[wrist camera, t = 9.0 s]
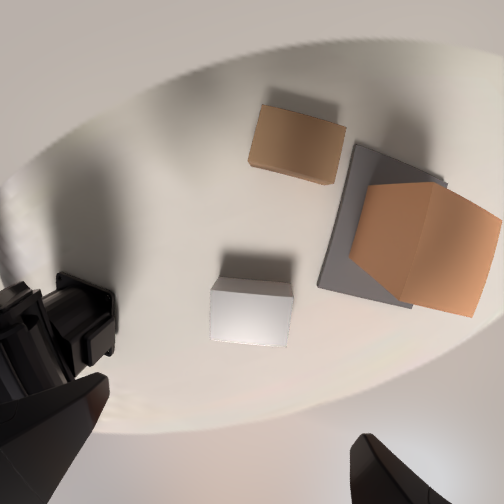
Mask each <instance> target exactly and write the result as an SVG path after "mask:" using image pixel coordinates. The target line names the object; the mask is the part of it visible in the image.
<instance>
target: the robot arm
mask: <svg viewBox="0 0 504 504" xmlns="http://www.w3.org/2000/svg"><path fill="white" fill-rule="evenodd" d="M61 278H62V279H61ZM107 295H108V296H109V297H110V299H109V298H108V297H107ZM114 301H115V297H114V294H113V293H112V292H111V291H110V290H107V289H104V288H102V287H99V286H96V285H94V284H91V283H89V282H86V281H84V280H81V279H79V278H76V277H74V276H71V275H69V274H66V273H64V272H59V273H57V275H56V290H55V291H53V292H51V293H49V294H47V295H45V296H43V297H42V293H41V290H40V289H37V290H32V289H30V288H29V287H28V286H27V285H26V284H25V282H24V281H22V282H18V283H16V284H14V285H11V286H9V287H7V288H5V289H3V290H1V291H0V504H47V503H48V501H49V500H50V498H51V496H52V495H53V493H54V491H55V490H56V488H57V486H58V485H59V483H60V481H61V480H62V478H63V476H64V475H65V473H66V472H67V470H68V468H69V467H70V465H71V464H72V462H73V460H74V459H75V457H76V456H77V454H78V452H79V451H80V449H81V448H82V446H83V445H84V443H85V441H86V440H87V438H88V437H89V435H90V434H91V432H92V430H93V429H94V427H95V425H96V423H97V421H98V419H99V416H100V414H101V412H102V410H103V408H104V406H105V404H106V402H107V400H108V398H109V394H110V390H109V379H108V377H107V376H106V375H104V374H101V373H99V372H96V373H93V374H90V375H88V376H85V377H82V378H79V379H77V380H75V377H76V376H77V375H78V374H79V373H80V372H81V371H82V370H83V369H84V368H85V367H86V366H89V367H91V366H93V365H94V364H95V363H96V362H97V361H98V360H99V359H100V358H101V357H102V356H103V355H106V356H109V357H110V356H111V355H112V354H113V353H114V344H115V318H114ZM350 490H351V499H352V504H452V503H450V502H448V501H447V500H446V499H444V498H443V497H442V496H441V495H439V494H438V493H437V492H436V491H434V490H433V489H432V488H431V487H429V486H428V485H427V484H426V483H425V482H424V481H423V480H422V479H421V478H419V477H418V476H417V475H416V474H415V473H414V472H413V471H412V470H411V469H409V468H408V467H407V466H406V465H405V464H404V463H403V462H402V461H401V460H400V459H398V458H397V457H396V456H395V455H394V454H393V453H392V452H391V451H390V450H389V449H388V448H387V447H386V446H385V445H384V444H383V443H382V442H381V441H379V440H378V439H377V438H376V437H375V436H374V435H373V434H371V433H366V434H365V433H363V434H361V435H360V436H359V437H358V439H357V440H356V441H355V443H354V444H353V445H352V447H351V449H350Z"/></svg>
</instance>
